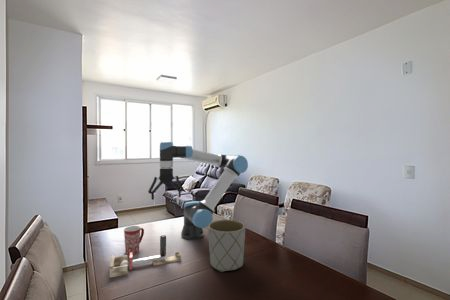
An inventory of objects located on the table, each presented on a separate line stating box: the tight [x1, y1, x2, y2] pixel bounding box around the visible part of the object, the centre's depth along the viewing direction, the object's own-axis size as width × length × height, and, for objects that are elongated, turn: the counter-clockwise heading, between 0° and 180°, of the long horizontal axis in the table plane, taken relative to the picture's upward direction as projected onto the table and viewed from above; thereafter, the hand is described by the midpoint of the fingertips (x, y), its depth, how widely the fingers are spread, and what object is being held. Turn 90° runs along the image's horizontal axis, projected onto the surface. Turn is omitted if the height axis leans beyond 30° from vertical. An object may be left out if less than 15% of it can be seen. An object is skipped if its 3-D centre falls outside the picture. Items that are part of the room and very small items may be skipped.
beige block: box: [109, 254, 128, 278], centre depth 112 cm, size 8×12×5 cm, turn 23°
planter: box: [207, 219, 246, 273], centre depth 118 cm, size 19×19×20 cm
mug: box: [123, 225, 145, 255], centre depth 134 cm, size 13×9×14 cm
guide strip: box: [151, 251, 182, 266], centre depth 121 cm, size 14×4×3 cm, turn 113°
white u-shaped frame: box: [129, 235, 167, 271], centre depth 118 cm, size 18×6×13 cm, turn 113°
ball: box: [119, 259, 130, 269], centre depth 113 cm, size 4×4×4 cm
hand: (166, 204), depth 136 cm, fingers open, 13 cm apart
